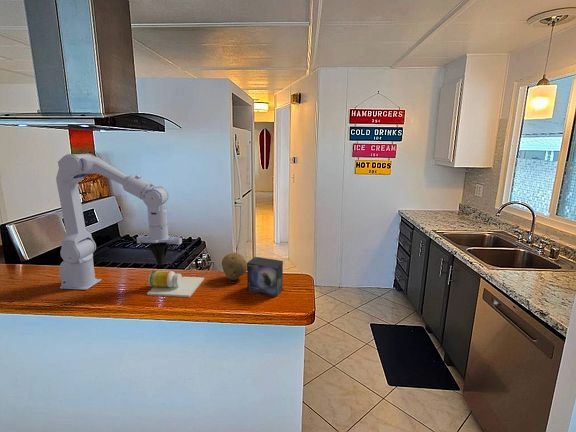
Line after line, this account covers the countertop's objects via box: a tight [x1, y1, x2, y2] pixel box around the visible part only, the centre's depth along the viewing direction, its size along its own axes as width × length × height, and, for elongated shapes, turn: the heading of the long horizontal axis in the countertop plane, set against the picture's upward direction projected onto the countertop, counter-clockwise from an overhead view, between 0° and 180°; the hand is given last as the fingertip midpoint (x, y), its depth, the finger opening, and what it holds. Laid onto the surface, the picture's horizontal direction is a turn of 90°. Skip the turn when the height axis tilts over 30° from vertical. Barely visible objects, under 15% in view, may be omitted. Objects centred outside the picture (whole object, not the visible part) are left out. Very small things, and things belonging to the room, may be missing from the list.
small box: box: [246, 256, 284, 298], centre depth 106 cm, size 11×6×10 cm, turn 70°
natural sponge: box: [221, 252, 248, 281], centre depth 114 cm, size 9×9×10 cm
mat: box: [146, 276, 205, 298], centre depth 109 cm, size 14×14×1 cm
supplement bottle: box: [147, 270, 183, 288], centre depth 107 cm, size 5×5×10 cm
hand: (161, 263), depth 108 cm, fingers closed
